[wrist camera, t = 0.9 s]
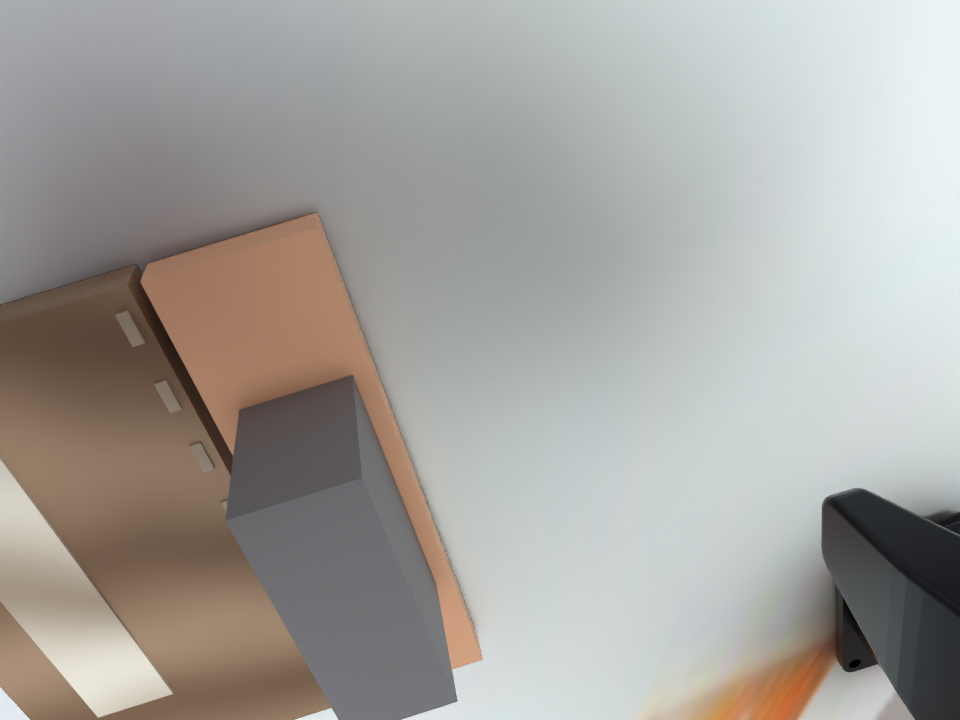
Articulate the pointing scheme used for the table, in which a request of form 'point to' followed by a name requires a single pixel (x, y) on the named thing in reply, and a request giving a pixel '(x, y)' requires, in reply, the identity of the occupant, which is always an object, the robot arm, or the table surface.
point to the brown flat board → (124, 527)
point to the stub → (318, 468)
